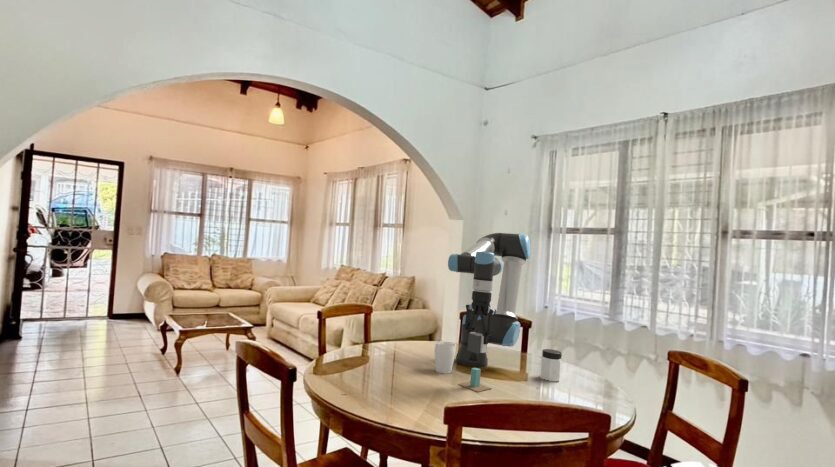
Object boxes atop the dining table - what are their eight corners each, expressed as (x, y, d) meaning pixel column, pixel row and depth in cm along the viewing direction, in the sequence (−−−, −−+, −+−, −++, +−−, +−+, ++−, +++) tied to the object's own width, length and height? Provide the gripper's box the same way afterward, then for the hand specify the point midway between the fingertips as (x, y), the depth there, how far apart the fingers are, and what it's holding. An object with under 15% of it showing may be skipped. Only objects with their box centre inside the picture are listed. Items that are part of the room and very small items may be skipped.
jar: (544, 381, 191) (546, 352, 191) (536, 375, 199) (538, 348, 199) (563, 382, 192) (566, 354, 192) (555, 376, 200) (557, 349, 200)
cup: (454, 375, 188) (456, 346, 188) (433, 373, 188) (435, 344, 188) (453, 369, 197) (455, 342, 197) (432, 367, 197) (435, 340, 197)
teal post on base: (458, 384, 175) (459, 366, 175) (471, 381, 180) (473, 364, 181) (477, 392, 168) (479, 373, 168) (491, 389, 173) (492, 370, 173)
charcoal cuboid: (467, 350, 174) (468, 333, 175) (476, 349, 178) (477, 332, 178) (477, 353, 171) (479, 336, 171) (486, 352, 174) (487, 335, 174)
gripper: (458, 288, 180) (453, 346, 179) (494, 294, 166) (489, 357, 165) (470, 288, 185) (466, 344, 184) (506, 294, 171) (501, 355, 170)
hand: (477, 350), depth 174 cm, fingers closed on charcoal cuboid, 5 cm apart
